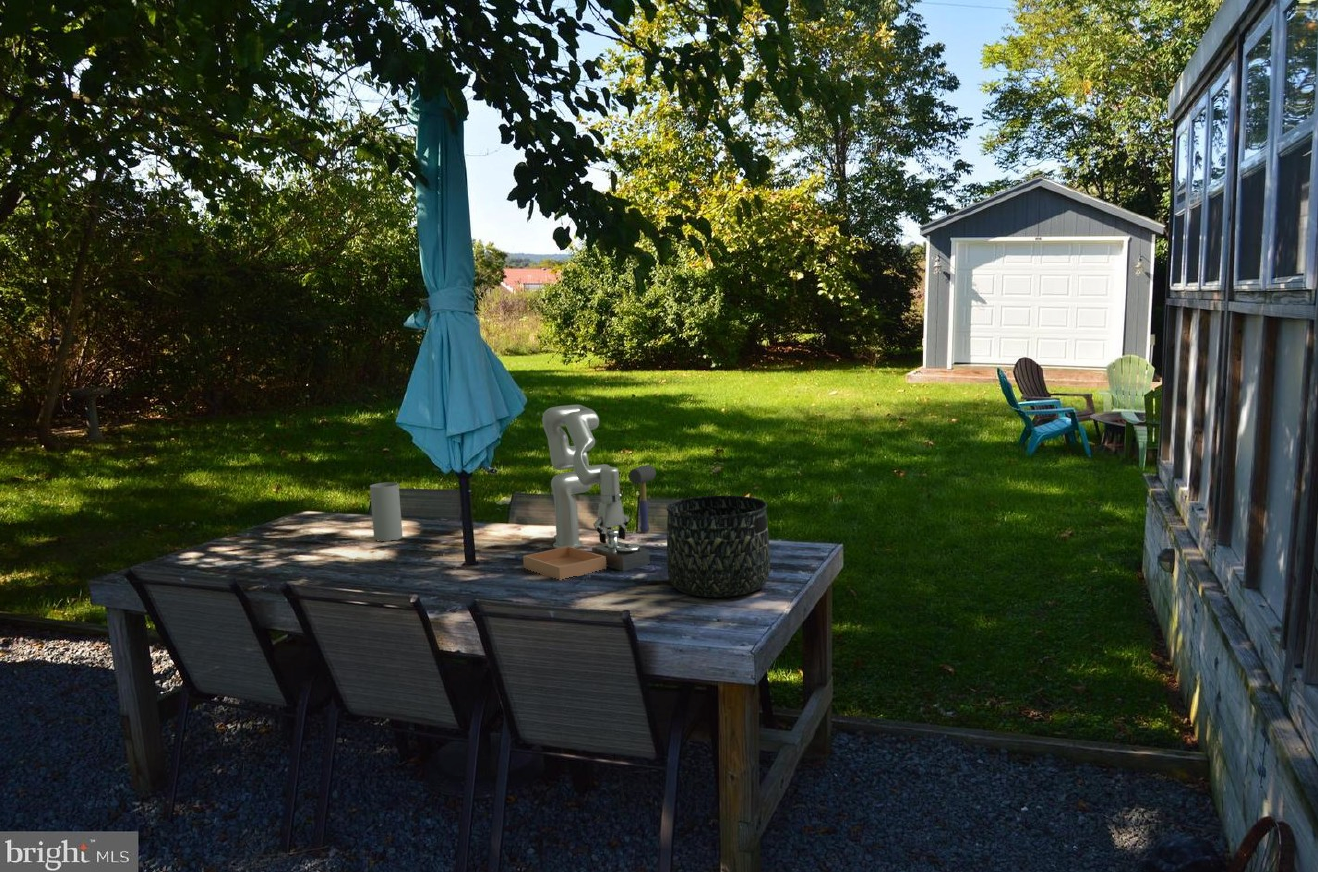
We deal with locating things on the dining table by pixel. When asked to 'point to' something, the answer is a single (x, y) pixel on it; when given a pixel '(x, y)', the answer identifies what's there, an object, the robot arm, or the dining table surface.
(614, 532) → the lock pin
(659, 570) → the dining table surface
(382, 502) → the cylinder vase
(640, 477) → the rubber mallet
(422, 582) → the dining table surface
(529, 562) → the tray
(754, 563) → the basket
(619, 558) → the pulley bracket
